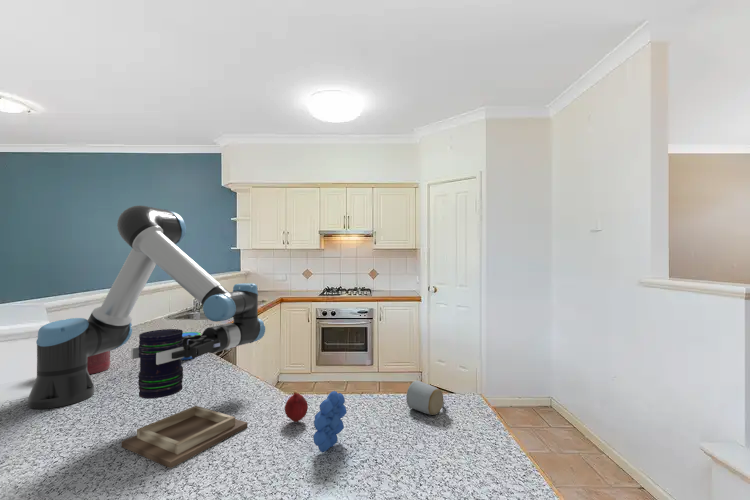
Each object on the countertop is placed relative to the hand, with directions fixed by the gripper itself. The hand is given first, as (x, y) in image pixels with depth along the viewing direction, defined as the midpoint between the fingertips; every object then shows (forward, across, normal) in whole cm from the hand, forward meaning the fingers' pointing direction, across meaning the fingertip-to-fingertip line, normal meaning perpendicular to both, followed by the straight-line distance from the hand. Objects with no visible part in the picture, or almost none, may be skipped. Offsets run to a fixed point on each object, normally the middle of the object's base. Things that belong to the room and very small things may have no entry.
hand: (144, 356), depth 89 cm
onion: (-22, -30, -19) cm, 41 cm away
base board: (-4, -12, -19) cm, 22 cm away
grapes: (-15, -44, -19) cm, 50 cm away
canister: (-19, +68, -19) cm, 73 cm away
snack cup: (-47, +51, -19) cm, 72 cm away
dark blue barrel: (-4, 0, -10) cm, 11 cm away
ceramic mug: (-44, -57, -19) cm, 75 cm away
